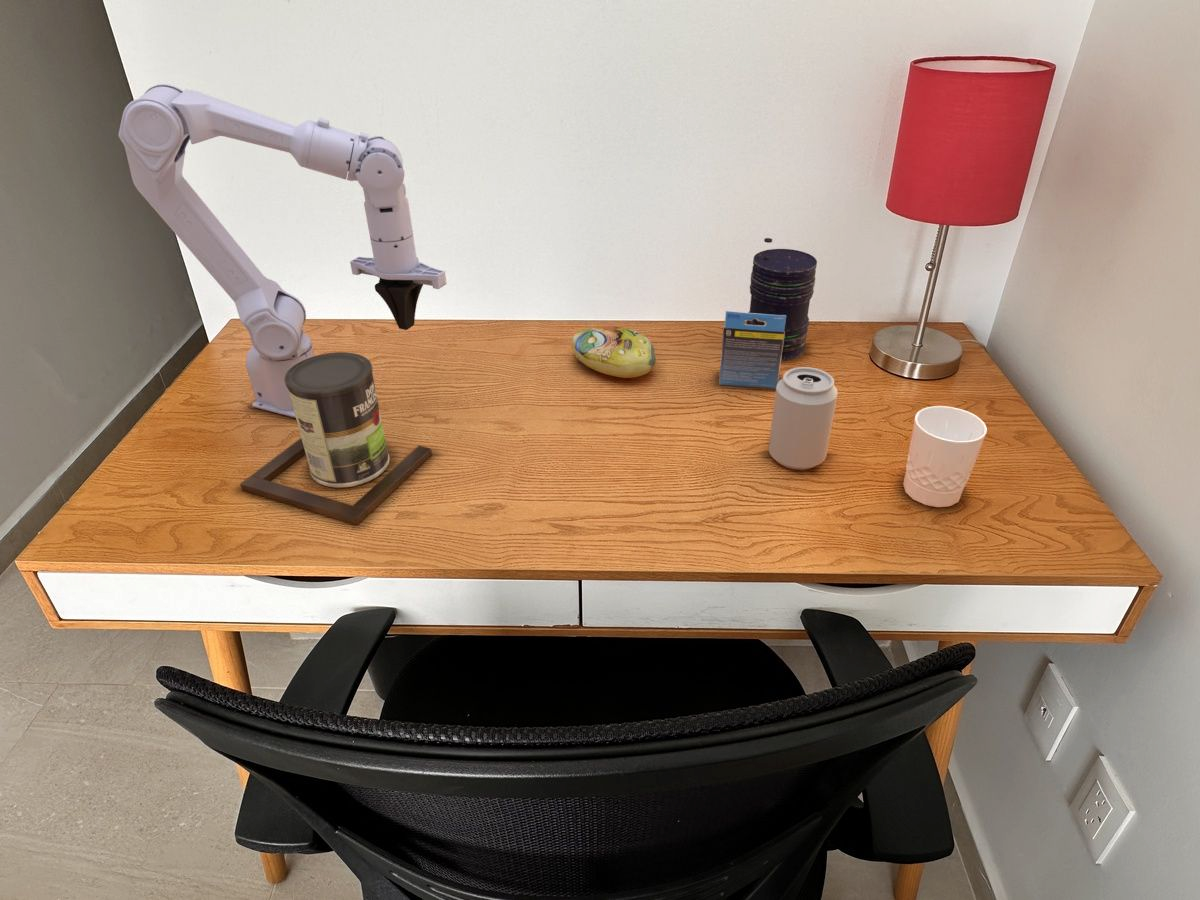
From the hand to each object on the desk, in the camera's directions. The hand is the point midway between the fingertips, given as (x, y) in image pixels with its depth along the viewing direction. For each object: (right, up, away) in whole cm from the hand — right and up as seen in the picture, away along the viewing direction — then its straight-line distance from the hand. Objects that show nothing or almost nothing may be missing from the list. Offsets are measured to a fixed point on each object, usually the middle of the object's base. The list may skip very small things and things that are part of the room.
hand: (406, 326), depth 115 cm
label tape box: (+51, -8, +6) cm, 52 cm away
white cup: (+69, -23, -17) cm, 75 cm away
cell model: (+30, -5, +11) cm, 33 cm away
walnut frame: (-6, -20, -11) cm, 24 cm away
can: (+54, -19, -10) cm, 58 cm away
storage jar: (+57, -1, +16) cm, 59 cm away
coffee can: (-5, -20, -10) cm, 23 cm away
